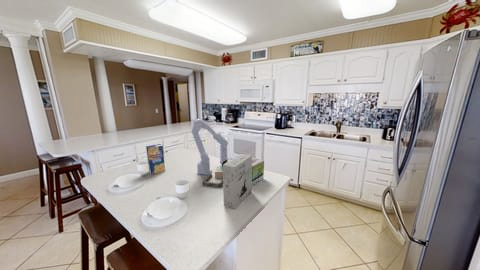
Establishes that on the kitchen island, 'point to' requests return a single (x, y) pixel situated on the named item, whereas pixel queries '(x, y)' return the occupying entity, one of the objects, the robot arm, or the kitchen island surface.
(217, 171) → the kraft carton
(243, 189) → the cereal box
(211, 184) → the shallow grey tray
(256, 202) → the kitchen island surface
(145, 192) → the kitchen island surface
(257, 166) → the tea box
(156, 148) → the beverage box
